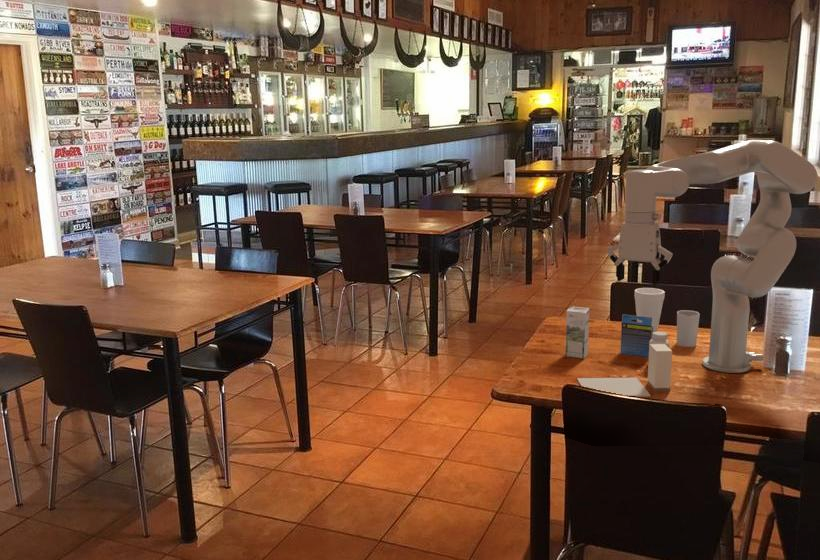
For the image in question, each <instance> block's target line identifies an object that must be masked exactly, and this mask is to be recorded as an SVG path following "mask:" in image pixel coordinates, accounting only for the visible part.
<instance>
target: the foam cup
mask: <svg viewBox="0 0 820 560" xmlns="http://www.w3.org/2000/svg"><path fill="white" fill-rule="evenodd" d="M665 293H666V291H664V290H663V289H660V288H654V287H639V288H636V289H634V295H633V296H634V301H635V302H634V303H635V312H636V314H635V316H641V317H651V318H652V327H653V332H656V330H657V329H659V324H660V319H661V315H662V309H663V304H664V300H665ZM636 322H642V321H641V320H638V319H636ZM657 331H658V330H657Z"/></svg>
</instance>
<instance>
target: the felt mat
mask: <svg viewBox="0 0 820 560" xmlns="http://www.w3.org/2000/svg"><path fill="white" fill-rule="evenodd" d="M576 379H577V382H578V383H579V385H581V386H584V387H589V388H593V389H596V390H601V391H606V392H611V393H616V394H622V395H628V396H636V397H635V398H644V397H645V398H646V397H647V398H652V397H651V396H652V395H651V394H650V393H649V392H648V390H647V389H646V387H644V385H643V384H642V383H641V381H640V380H639V379H638V378H637V377H577V378H576ZM581 386H580V387H581Z"/></svg>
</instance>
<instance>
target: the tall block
mask: <svg viewBox="0 0 820 560" xmlns="http://www.w3.org/2000/svg"><path fill="white" fill-rule="evenodd" d="M672 360H673V350H672V349H671V348H670V346H669V347H668V346H666V345H665V344H650V345H649V364H648V363H647V367H648V369H647V383H646V384H647V385H648V386H649V388H651V390H652V391H653V392H654V393H656V392H659V393H660V392H671V376H672V362H673V361H672Z"/></svg>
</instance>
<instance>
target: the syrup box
mask: <svg viewBox="0 0 820 560" xmlns="http://www.w3.org/2000/svg"><path fill="white" fill-rule="evenodd" d="M565 321H566V325H565V357H566V358H573V359H582V360H584V359H585V358H586V357H587V355H588V354H589V330H590V329H589V326H590V324H589V323H590V307H581V306H570V307H568V309H567V310H566V319H565Z"/></svg>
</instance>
